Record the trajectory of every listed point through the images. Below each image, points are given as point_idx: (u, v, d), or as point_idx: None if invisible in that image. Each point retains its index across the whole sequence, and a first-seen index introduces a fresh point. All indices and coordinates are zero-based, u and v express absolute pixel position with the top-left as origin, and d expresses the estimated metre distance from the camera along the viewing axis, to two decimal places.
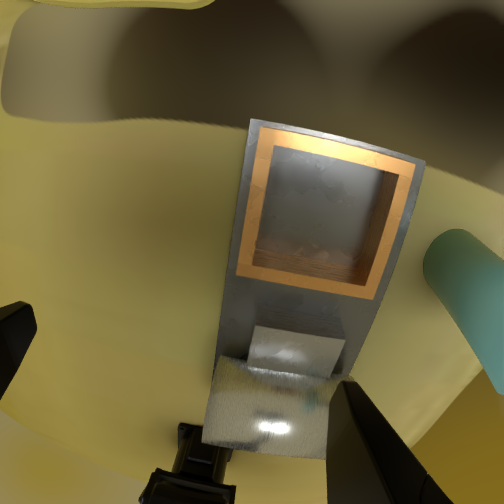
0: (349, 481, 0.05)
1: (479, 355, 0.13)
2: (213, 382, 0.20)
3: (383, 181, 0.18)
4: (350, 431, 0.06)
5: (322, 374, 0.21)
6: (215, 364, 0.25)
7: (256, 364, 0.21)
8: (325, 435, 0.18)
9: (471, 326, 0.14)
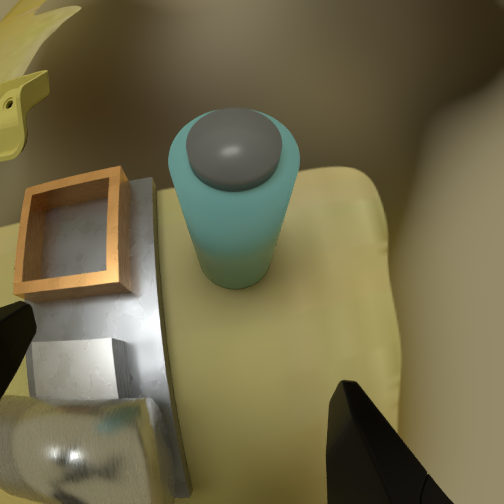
0: (349, 481, 0.05)
1: (190, 217, 0.14)
2: None
3: None
4: (350, 431, 0.06)
5: (108, 395, 0.16)
6: None
7: (43, 394, 0.15)
8: (94, 440, 0.11)
9: None
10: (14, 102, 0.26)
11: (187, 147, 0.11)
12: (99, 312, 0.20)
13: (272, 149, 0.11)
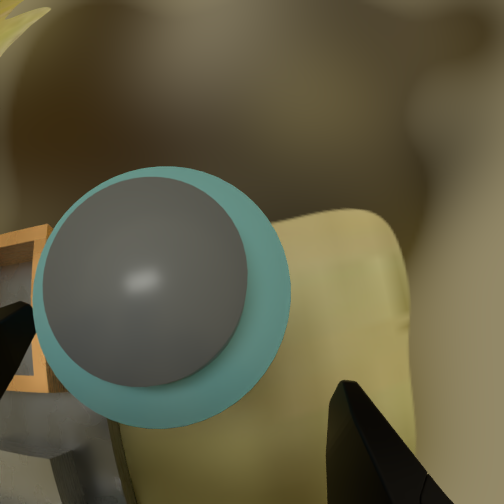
0: (349, 481, 0.05)
1: None
2: None
3: None
4: (350, 431, 0.06)
5: None
6: None
7: None
8: None
9: None
10: None
11: (44, 288, 0.05)
12: (40, 411, 0.13)
13: (222, 298, 0.05)
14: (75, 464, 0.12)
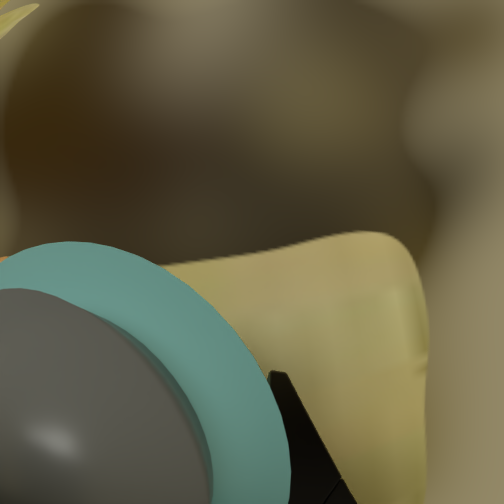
0: None
1: None
2: None
3: None
4: None
5: None
6: None
7: None
8: None
9: None
10: None
11: None
12: None
13: None
14: None
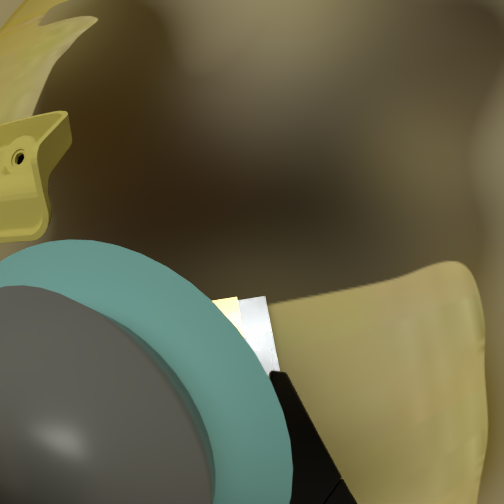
0: None
1: None
2: None
3: None
4: None
5: None
6: None
7: None
8: None
9: None
10: (26, 156, 0.22)
11: None
12: None
13: None
14: None
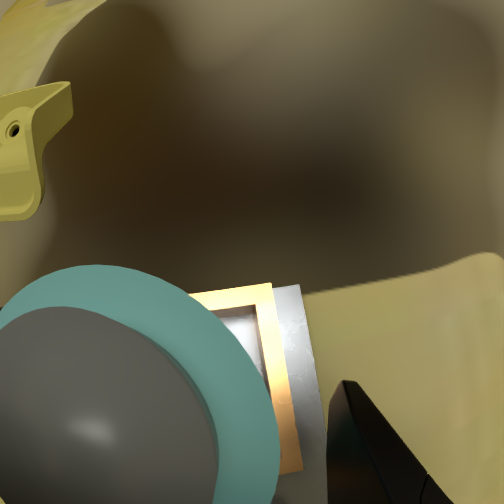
0: (349, 481, 0.05)
1: None
2: None
3: (256, 331, 0.16)
4: (350, 431, 0.06)
5: None
6: None
7: None
8: None
9: None
10: (21, 128, 0.19)
11: None
12: None
13: (182, 499, 0.03)
14: None
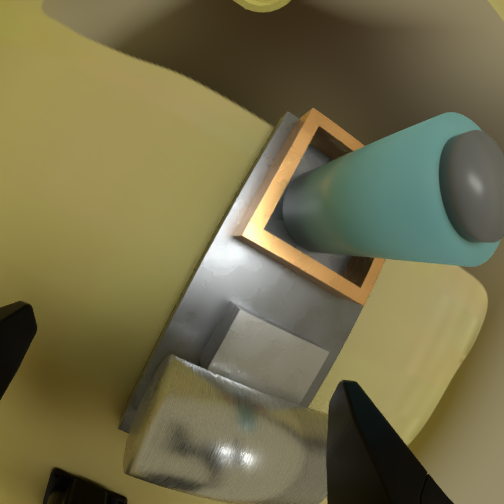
0: (349, 481, 0.05)
1: (379, 195, 0.10)
2: (174, 372, 0.13)
3: None
4: (350, 431, 0.06)
5: (293, 398, 0.17)
6: (144, 378, 0.17)
7: (221, 370, 0.16)
8: (313, 464, 0.13)
9: (358, 173, 0.11)
10: None
11: (460, 151, 0.07)
12: (305, 300, 0.20)
13: (503, 224, 0.08)
14: None
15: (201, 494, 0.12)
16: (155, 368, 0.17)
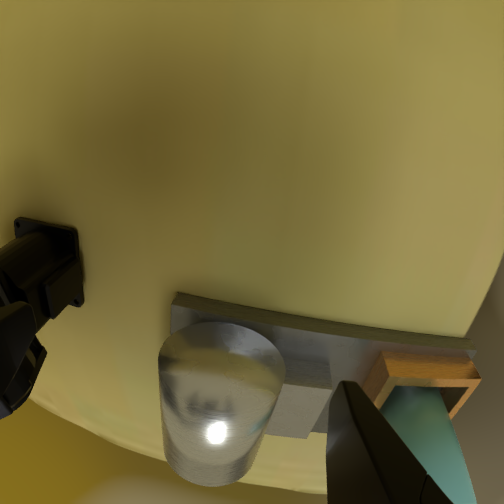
0: (349, 481, 0.05)
1: None
2: (281, 388, 0.16)
3: None
4: (350, 431, 0.06)
5: None
6: (238, 320, 0.20)
7: None
8: (229, 474, 0.17)
9: (442, 458, 0.13)
10: None
11: None
12: None
13: None
14: None
15: (176, 430, 0.16)
16: (251, 326, 0.20)
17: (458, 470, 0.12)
